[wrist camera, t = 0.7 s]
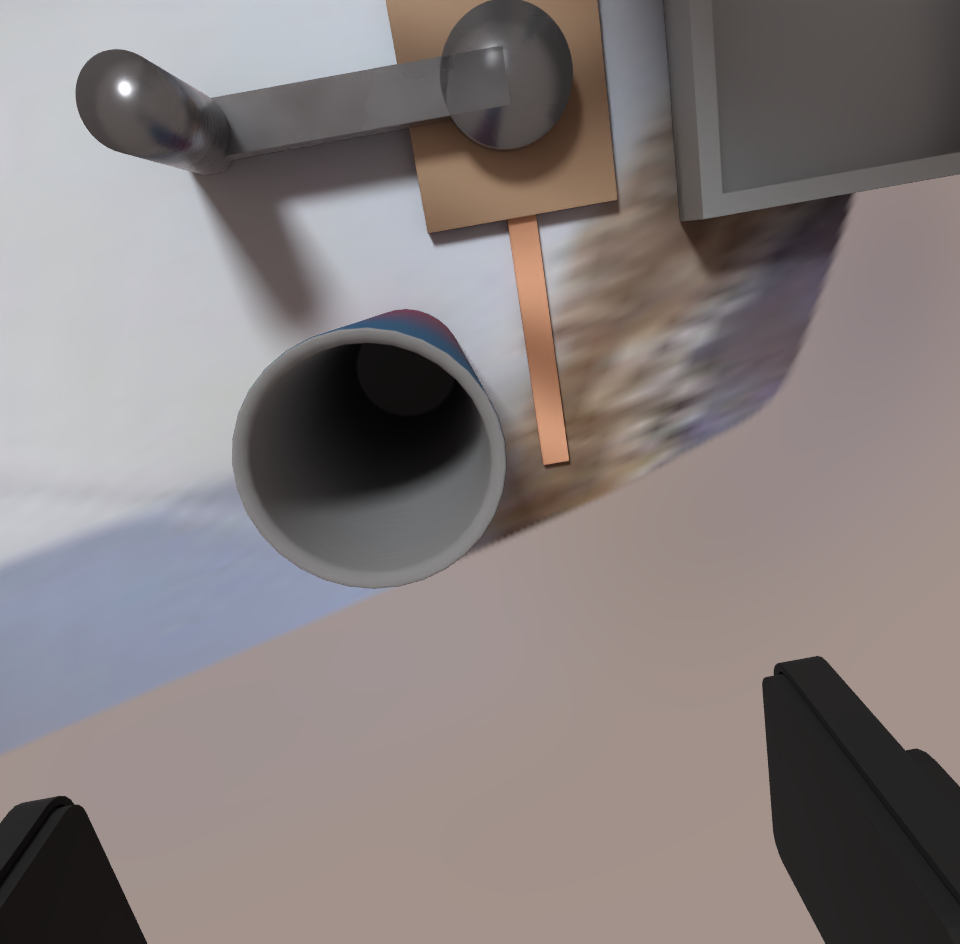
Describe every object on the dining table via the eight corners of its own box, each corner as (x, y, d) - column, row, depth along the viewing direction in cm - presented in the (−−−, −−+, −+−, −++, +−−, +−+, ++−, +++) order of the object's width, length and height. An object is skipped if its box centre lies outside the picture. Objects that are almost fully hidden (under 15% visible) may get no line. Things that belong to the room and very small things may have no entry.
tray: (653, -132, 27) (677, -177, 24) (989, -194, 26) (1054, -247, 23) (679, 221, 30) (703, 219, 28) (972, 169, 30) (1027, 161, 27)
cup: (507, 326, 32) (551, 394, 17) (447, 461, 33) (443, 624, 19) (362, 262, 30) (283, 280, 16) (309, 405, 32) (196, 534, 18)
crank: (559, -3, 27) (594, -85, 20) (575, 140, 28) (613, 108, 22) (148, 71, 27) (48, 15, 20) (187, 209, 29) (105, 199, 22)
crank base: (378, -39, 27) (377, -46, 27) (586, -78, 27) (589, -85, 26) (472, 475, 34) (472, 479, 33) (639, 446, 33) (642, 450, 33)
